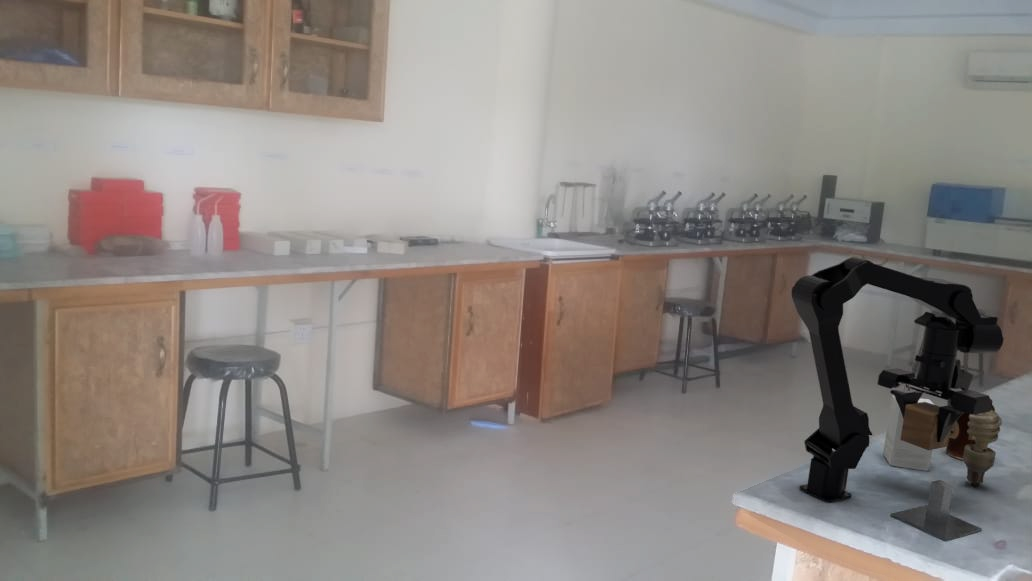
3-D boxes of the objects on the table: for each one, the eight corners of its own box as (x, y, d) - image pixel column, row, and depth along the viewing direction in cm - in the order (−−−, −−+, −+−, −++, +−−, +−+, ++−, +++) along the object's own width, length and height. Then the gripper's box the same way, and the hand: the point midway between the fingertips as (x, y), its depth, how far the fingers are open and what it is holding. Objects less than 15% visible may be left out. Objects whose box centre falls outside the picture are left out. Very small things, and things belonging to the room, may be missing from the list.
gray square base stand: (945, 541, 141) (952, 499, 140) (890, 515, 149) (896, 476, 148) (981, 530, 146) (989, 490, 145) (926, 506, 155) (933, 468, 153)
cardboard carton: (928, 450, 156) (934, 414, 154) (900, 439, 160) (906, 404, 159) (947, 446, 158) (953, 411, 157) (919, 436, 163) (925, 401, 162)
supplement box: (929, 471, 173) (940, 409, 170) (889, 466, 174) (899, 404, 172) (920, 459, 180) (930, 398, 178) (881, 453, 181) (891, 393, 179)
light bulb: (988, 493, 163) (1002, 415, 161) (955, 485, 166) (969, 408, 164) (990, 485, 168) (1005, 408, 166) (958, 477, 171) (972, 402, 168)
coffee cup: (939, 457, 181) (950, 396, 179) (937, 445, 189) (947, 387, 187) (987, 466, 178) (999, 404, 176) (983, 454, 186) (994, 394, 184)
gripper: (1017, 362, 153) (1001, 449, 156) (919, 337, 168) (906, 416, 171) (979, 367, 147) (963, 456, 150) (881, 340, 162) (869, 422, 165)
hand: (924, 436), depth 159 cm, fingers closed on cardboard carton, 6 cm apart
